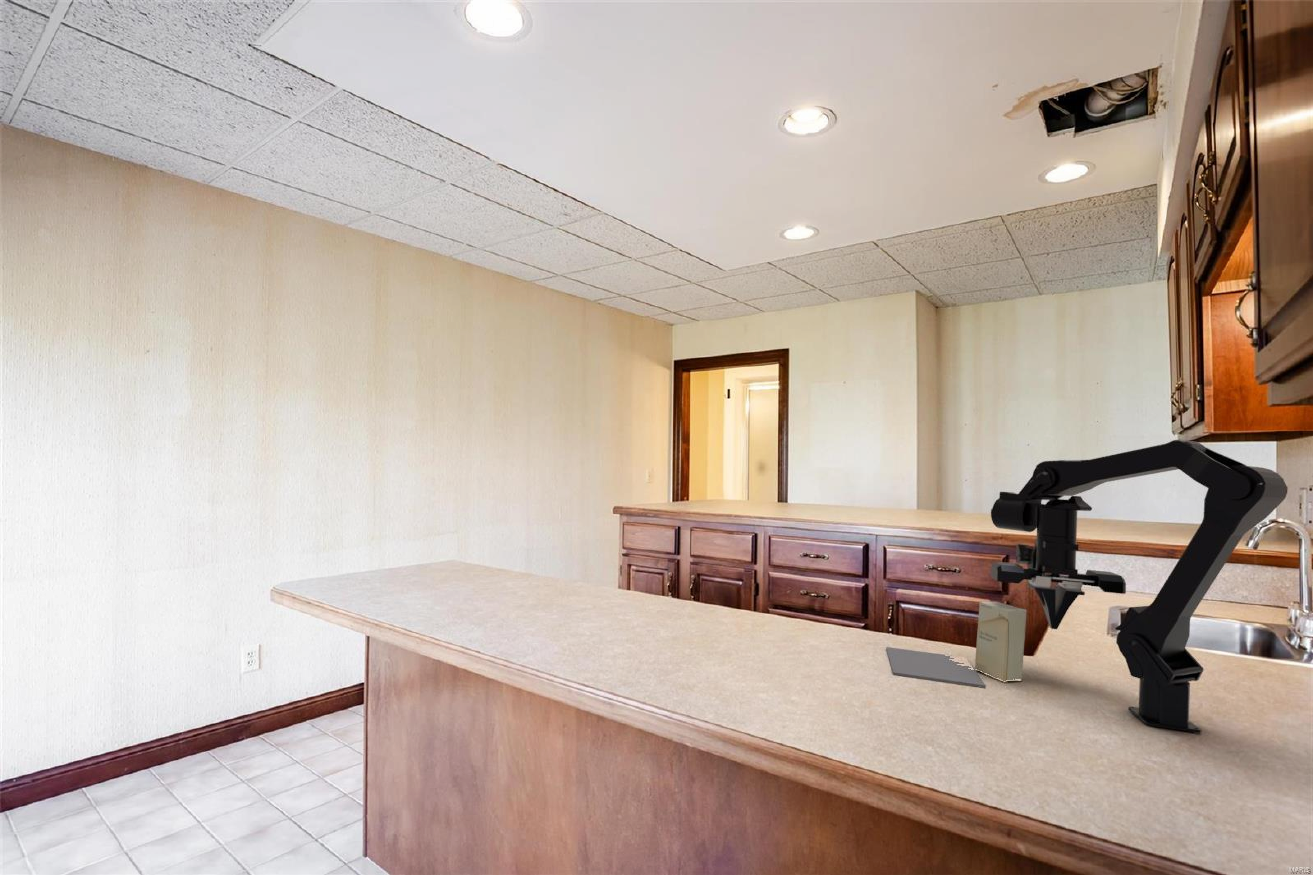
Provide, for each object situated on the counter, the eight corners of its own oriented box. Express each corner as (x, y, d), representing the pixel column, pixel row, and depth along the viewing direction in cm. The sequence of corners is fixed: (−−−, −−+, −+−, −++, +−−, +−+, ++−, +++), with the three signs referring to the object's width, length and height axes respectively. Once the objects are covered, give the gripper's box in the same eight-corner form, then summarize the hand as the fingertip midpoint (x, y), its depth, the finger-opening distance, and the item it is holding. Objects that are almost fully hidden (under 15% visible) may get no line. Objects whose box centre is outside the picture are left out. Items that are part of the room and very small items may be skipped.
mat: (985, 688, 102) (985, 685, 102) (893, 674, 106) (893, 672, 106) (966, 659, 117) (966, 657, 117) (886, 649, 121) (886, 646, 121)
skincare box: (973, 671, 111) (976, 601, 111) (992, 669, 112) (995, 600, 113) (1004, 683, 105) (1008, 609, 105) (1024, 682, 106) (1027, 609, 107)
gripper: (1100, 536, 112) (1098, 624, 112) (984, 527, 117) (981, 611, 117) (1128, 542, 102) (1125, 640, 101) (999, 532, 107) (996, 625, 106)
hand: (1053, 628), depth 106 cm, fingers closed
